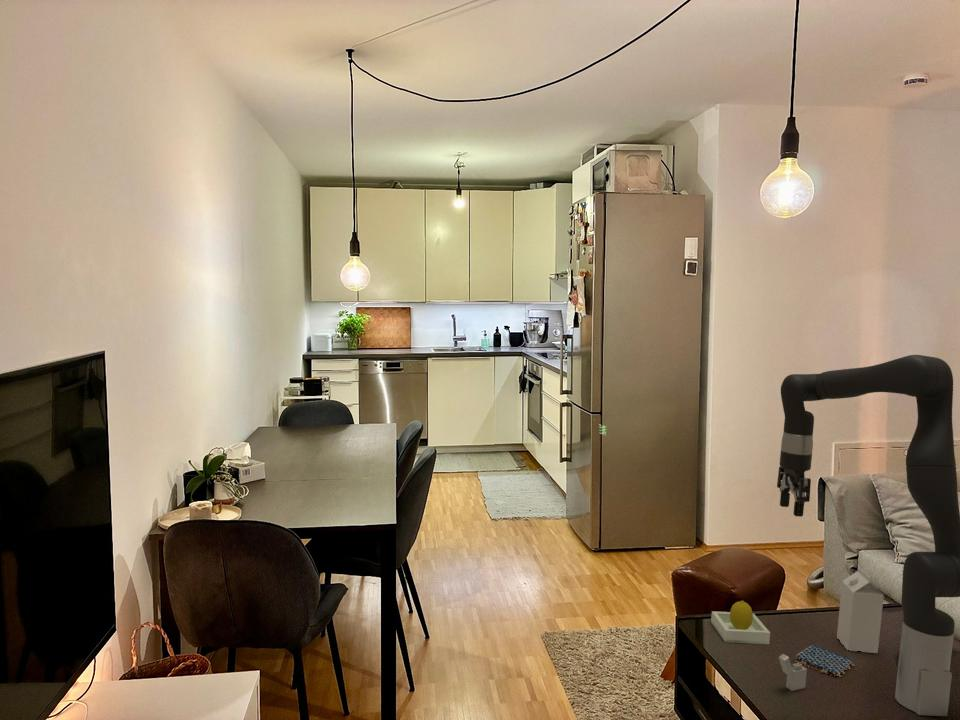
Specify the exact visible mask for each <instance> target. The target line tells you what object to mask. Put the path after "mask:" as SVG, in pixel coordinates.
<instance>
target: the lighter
mask: <svg viewBox="0 0 960 720" xmlns="http://www.w3.org/2000/svg"><path fill="white" fill-rule="evenodd" d="M778 660H779V663H780V666H781V670H782V672H783V673H784V674H786V684H785V688H786V689H788V690H790V691H791V692H793V691H797V690H802V689H806V683H807V672H808V668H807V667H806V666H804V665H802V664H800V663H796V662H795V663H791V661H790V657H789V656H788V655H786V654H785V653H782V654H780V655H779V656H778Z"/></svg>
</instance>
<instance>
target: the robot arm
mask: <svg viewBox="0 0 960 720" xmlns="http://www.w3.org/2000/svg"><path fill="white" fill-rule="evenodd" d="M873 393H889V394H890V393H891V394H900V395H906V396H908V397H913V398H915V400H916V411H917V421H916V428H915V431H914V433H913V436H912V439H911V441H910V443H909V445H908V448H907V452H906V456H905V470H906V483H907V489H908V491H909V494H910V496H911V497H912V498H913V500H914V501H913V502H915V504H916V506H917V507H918V508H919V509H920V511H921V513H922V514H923V515H924V518H925V519H926V520H927V521H928V523H929V525H930V528H931V531H932V535H933V536H932V537H933V541H934V542H933V543H934V551H914V552H911V553H909V554H908V555H907V557H906V558H905V560H904V563H903V567H902V568H903V569H902V580H901V582H902V583H901V585H902V586H901V609H902V613H903V614H902V616H903V617H902V618H903V619H902V628H901V637H900V645H899V654H898V655H899V656H898V666H897V673H896V682H895V683H896V684H895V693H894V698H895V700H896V702H898V703H899V704H900V706H901V705H902V707H904V708H905V709H907V710H909V711H912V712H914V713H915V714H917V715H918V716H931V717H933V716H934V717H935V716H936V717H948V714H949V713H948V712H949V704H950V695H951V694H950V693H951V685H952V676H953V673H952V672H951V671H950V669H951V660H952V652H953V651H952V650H953V645H954V644H953V643H954V635H955V625H956V624H955V620H954V618H953V616H951V615H950V614H948V613H947V612H945V611H943V610H941V609H939V608H937V607H936V598H960V506H959V505H960V504H959V496H958V495H959V494H958V492H959V491H958V476H957V474H958V473H957V464H956V463H957V462H956V455H955V444H954V442H955V441H954V429H953V403H954V402H953V401H954V400H953V398H954V376H953V371H952V369H951V366H950V365H949V364H948V363H947V362H946V360H943V359H941V358H939V357H936V356H935V357H934V356H927V355H924V354H922V355H921V354H909V355H907V356H906V355H905V356H903V357H899V358H896V359H892V360H889V361H884V362H883V363H879V364H874V365H869V366H862V367H854V368H851V367H850V368H842V369H834V370H826V371H823V372H821V373H811V374H810V373H809V374H808V373H801V374H800V373H799V374H798V373H796V374H795V373H794V374H793V373H792V374H789V375H787V376H785V378H784V379H783V381H782V383H781V386H780V399H781V403H782V409H783V413H784V423H783V434H782V437H781V445H780V453H779V454H780V455H779V456H780V457H779V467H778V472H777V473H778V476H777V481H776V482H777V483H776V487H777V489H779V492H780V498H779V506H780V507H782V508H789V507H790V499H791V498H790V497H791V494H792V495H793V498H794V499H793V500H794V505H793V515H794V517H802V518H803V516H804V509H805V503H810V500H811V485H812V480H811V478H807V477H806V476H805V473H806V472H808V471H810V470H811V468H812V459H813V450H814V440H813V438H814V436H813V434H814V428H815V416H814V414H813V413H812V412H810V411H808V410H806V408H805V403H804V402H814V401H815V402H816V401H824V400H837V399H838V400H841V399H850V398H857V397H861V396H864V395H867V394H873Z"/></svg>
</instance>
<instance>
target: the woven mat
mask: <svg viewBox="0 0 960 720" xmlns="http://www.w3.org/2000/svg"><path fill="white" fill-rule="evenodd" d="M800 659H801V660H800ZM798 660H799V661H798ZM794 661H795V663H796V662H797V663H800V664H802V666H804V667H806V666H808V667H807V668H809V669H811V668H816V669H817V670H819V671H821V672H823V673H826V674H829V673H830V672H831V674H830V676H829V677H831V676H832V675H833V674H834V675H833V676H834V677H835V676H839V677H838V678H840V677H842V676H841V675H840V674H841V673H843V674H842V675H844V674H845V673H846V671H845V670H847V671H848V669H849V670H851V668H850V667H852V666H854V667H855V663H854V660H853V659H850V656H848V657H847V658H846V657H844V656H843V654H840V655H839V654H837V653H836V652H835V651H833V652H832V651H830V650H829V649H824V648H823V646H820V647H819V646H816V644H811V645H809V647H806V648H805V649H803V650H801V652H798V653H797V654H796V655H795V659H794ZM808 664H809V665H808ZM850 665H851V666H850ZM810 667H811V668H810ZM819 668H820V669H819ZM847 668H848V669H847ZM819 671H818V672H819ZM844 671H845V672H844ZM821 672H820V673H821ZM823 673H822V674H823ZM826 674H825V675H826Z"/></svg>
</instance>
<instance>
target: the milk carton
mask: <svg viewBox="0 0 960 720" xmlns="http://www.w3.org/2000/svg"><path fill="white" fill-rule="evenodd" d="M871 579H872V578H871V577H870V576H869V574H867V573H866V572H865V571H864V570H862V568H861V567H859V566H857V570H856V571H855V572H854V573H852V574H850V575H849V576H848V577H846V578H844V579H843V580H842V581H841V590H840V591H841V592H840V601H839V610H838V611H839V612H838V620H837V621H838V623H837V631H836V633H837V634H836V638H837V640H838V639H839V640H840V641H839V640H838V641H839V642H840V643H841V644H842V646H843V645H844V646H843V648H845V649H846V651H848V650H849V651H850V652H857V651H861V652H860V653H870V654H871V653H872V654H878V653H879V643H880V635H881V625H882V615H883V605H884V596H885V595H884V594H883V592H882V591H880V590H879V589H878V588H877V586H875V585H874V584H873V583H872V582H871Z"/></svg>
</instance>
